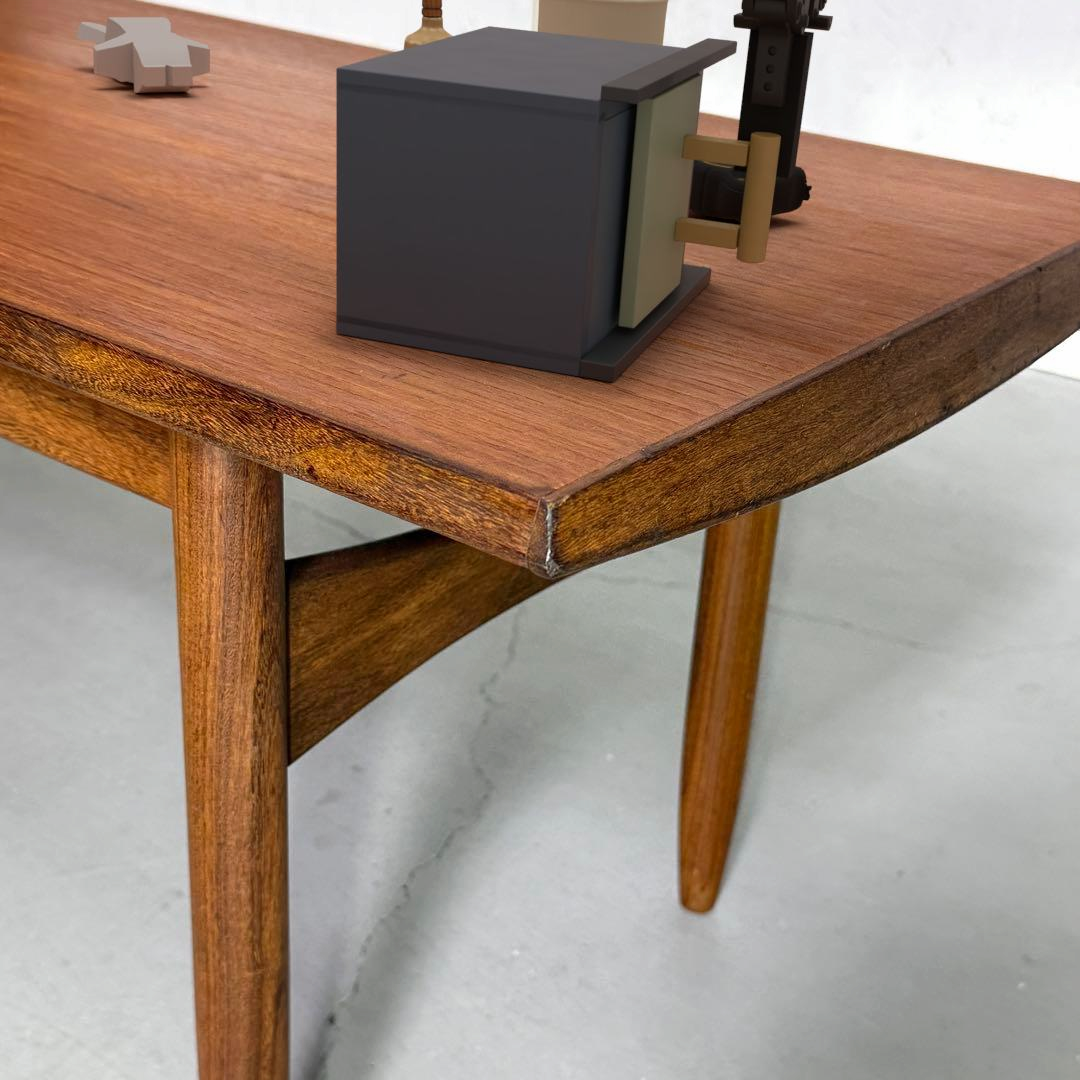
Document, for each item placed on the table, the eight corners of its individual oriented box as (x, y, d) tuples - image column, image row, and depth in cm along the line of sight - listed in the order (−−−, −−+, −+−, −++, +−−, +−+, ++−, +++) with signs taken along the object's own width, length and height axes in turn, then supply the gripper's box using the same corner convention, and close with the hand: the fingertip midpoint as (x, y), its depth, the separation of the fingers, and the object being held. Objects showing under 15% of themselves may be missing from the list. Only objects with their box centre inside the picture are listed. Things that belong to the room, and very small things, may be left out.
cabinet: (710, 282, 81) (737, 41, 75) (613, 383, 66) (638, 89, 60) (479, 246, 85) (488, 14, 79) (335, 333, 69) (335, 53, 64)
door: (766, 297, 75) (794, 84, 70) (728, 345, 68) (757, 111, 63) (665, 281, 76) (686, 72, 72) (617, 326, 69) (637, 96, 64)
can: (663, 153, 112) (679, -17, 106) (642, 177, 104) (659, -4, 98) (543, 140, 113) (554, -28, 108) (514, 163, 105) (524, -17, 100)
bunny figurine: (108, 47, 115) (62, -2, 126) (110, 112, 118) (65, 59, 129) (226, 45, 120) (172, -2, 130) (226, 108, 122) (173, 57, 133)
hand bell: (442, 119, 119) (449, -98, 112) (359, 103, 122) (361, -107, 115) (499, 106, 125) (508, -99, 118) (419, 92, 129) (423, -108, 122)
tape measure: (735, 237, 90) (742, 175, 89) (655, 212, 95) (660, 152, 93) (807, 223, 94) (815, 164, 93) (727, 200, 99) (734, 143, 97)
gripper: (780, -383, 68) (720, 139, 78) (711, -429, 57) (652, 186, 67) (947, -378, 66) (862, 158, 76) (908, -425, 55) (816, 210, 65)
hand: (764, 171), depth 72 cm, fingers closed
